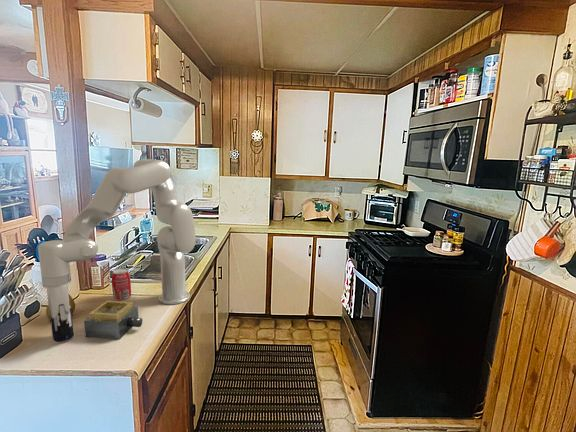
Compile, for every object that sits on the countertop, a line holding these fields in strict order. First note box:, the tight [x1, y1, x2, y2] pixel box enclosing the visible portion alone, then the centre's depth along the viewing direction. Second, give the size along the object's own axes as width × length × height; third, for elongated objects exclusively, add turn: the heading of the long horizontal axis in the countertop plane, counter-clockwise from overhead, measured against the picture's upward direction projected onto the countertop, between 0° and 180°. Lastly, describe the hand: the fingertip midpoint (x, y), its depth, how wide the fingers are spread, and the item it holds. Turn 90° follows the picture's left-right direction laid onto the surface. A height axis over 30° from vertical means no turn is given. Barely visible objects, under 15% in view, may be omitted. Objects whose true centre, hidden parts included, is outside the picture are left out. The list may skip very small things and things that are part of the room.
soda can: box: [111, 268, 132, 301], centre depth 137 cm, size 7×7×12 cm
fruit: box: [45, 292, 76, 321], centre depth 119 cm, size 9×9×12 cm
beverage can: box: [49, 305, 75, 344], centre depth 106 cm, size 6×6×12 cm
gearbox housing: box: [83, 300, 143, 340], centre depth 113 cm, size 12×16×8 cm
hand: (62, 330), depth 107 cm, fingers closed on beverage can, 5 cm apart
